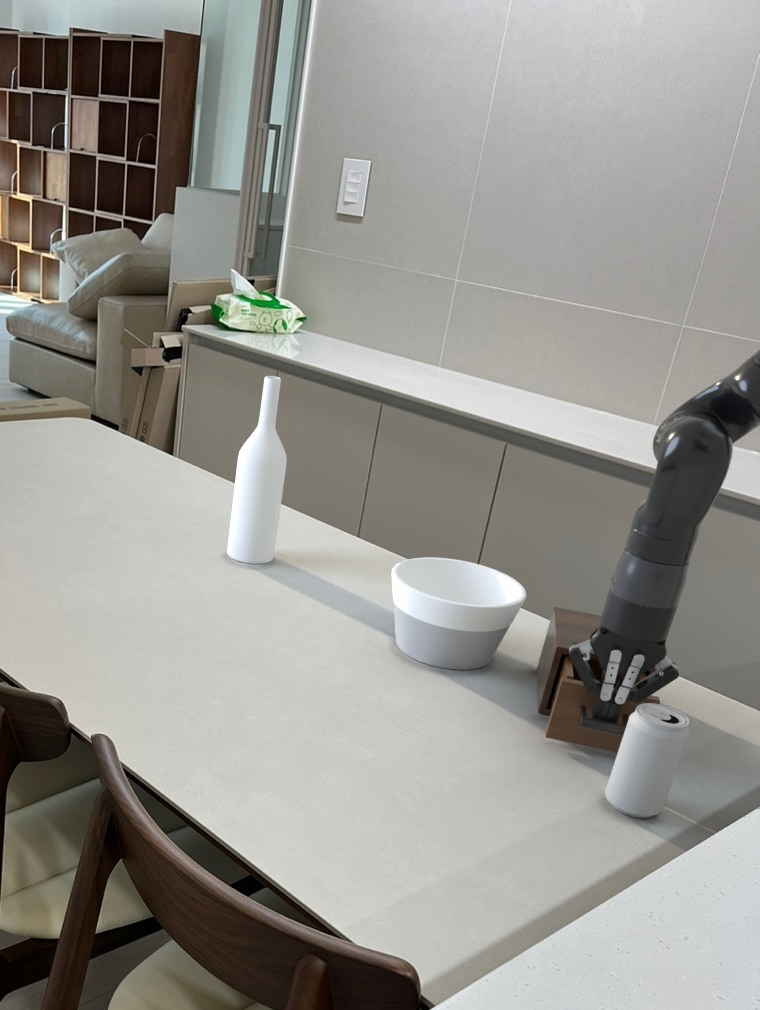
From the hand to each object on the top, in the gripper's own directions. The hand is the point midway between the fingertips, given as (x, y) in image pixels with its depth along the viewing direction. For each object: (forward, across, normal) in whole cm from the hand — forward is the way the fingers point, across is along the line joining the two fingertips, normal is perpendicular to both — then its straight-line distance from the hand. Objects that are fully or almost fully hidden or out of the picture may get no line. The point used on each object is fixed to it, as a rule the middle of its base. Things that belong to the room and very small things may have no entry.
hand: (601, 726), depth 128 cm
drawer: (+4, 0, +7) cm, 8 cm away
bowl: (+5, -20, +26) cm, 33 cm away
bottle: (+5, -55, +50) cm, 75 cm away
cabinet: (+5, 0, +18) cm, 19 cm away
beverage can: (+5, +4, -9) cm, 11 cm away
